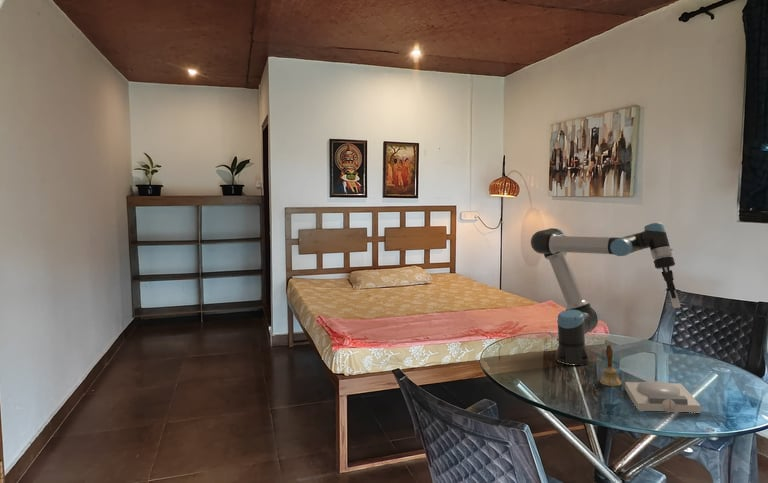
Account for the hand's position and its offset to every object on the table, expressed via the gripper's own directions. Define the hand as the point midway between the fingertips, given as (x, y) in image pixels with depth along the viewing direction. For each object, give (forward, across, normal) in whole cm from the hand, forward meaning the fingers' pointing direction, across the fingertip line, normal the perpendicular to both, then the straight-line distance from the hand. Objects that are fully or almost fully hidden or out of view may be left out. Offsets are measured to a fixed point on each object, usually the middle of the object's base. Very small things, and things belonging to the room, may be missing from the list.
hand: (676, 307), depth 201 cm
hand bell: (+27, -10, +31) cm, 42 cm away
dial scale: (+34, -22, +14) cm, 43 cm away
